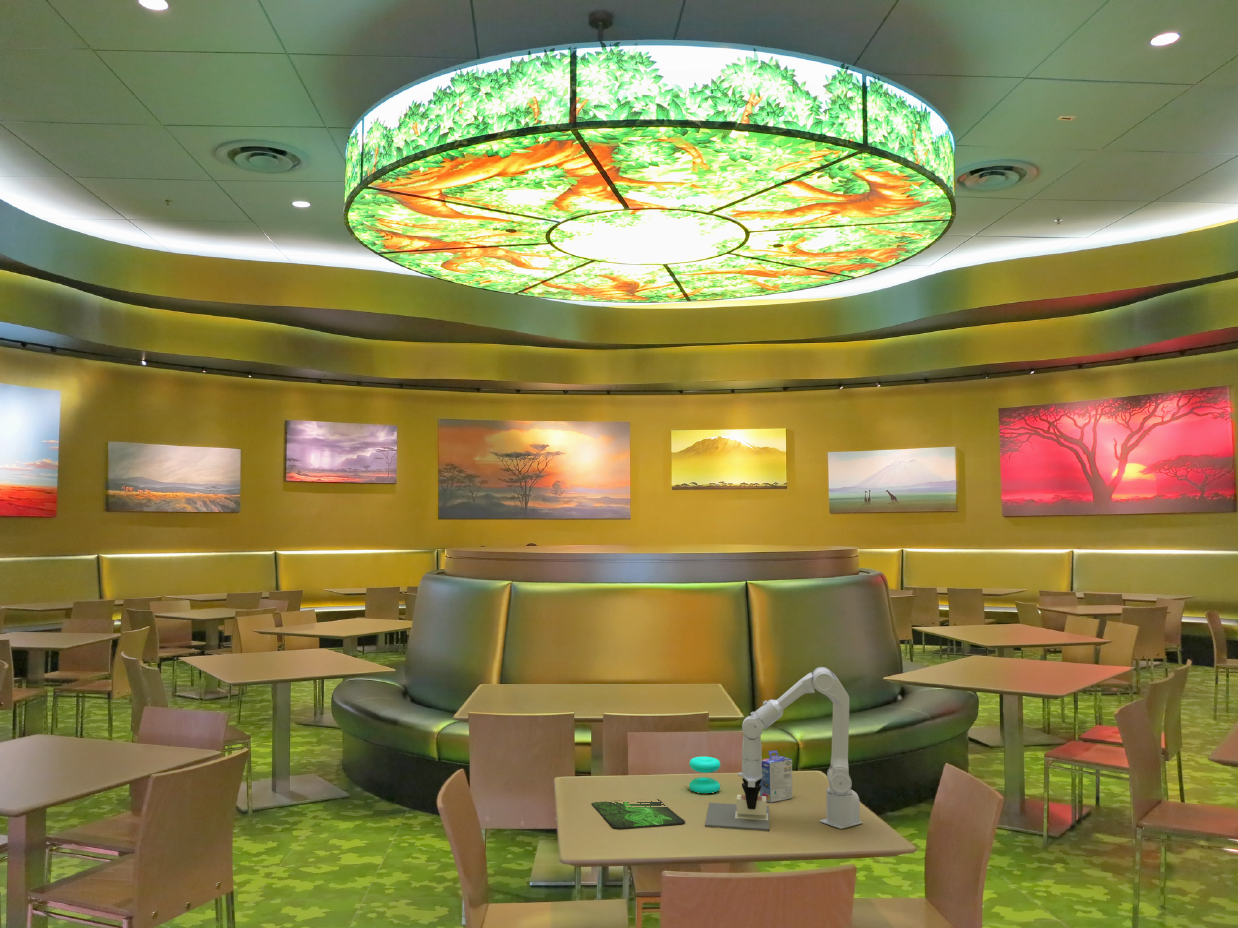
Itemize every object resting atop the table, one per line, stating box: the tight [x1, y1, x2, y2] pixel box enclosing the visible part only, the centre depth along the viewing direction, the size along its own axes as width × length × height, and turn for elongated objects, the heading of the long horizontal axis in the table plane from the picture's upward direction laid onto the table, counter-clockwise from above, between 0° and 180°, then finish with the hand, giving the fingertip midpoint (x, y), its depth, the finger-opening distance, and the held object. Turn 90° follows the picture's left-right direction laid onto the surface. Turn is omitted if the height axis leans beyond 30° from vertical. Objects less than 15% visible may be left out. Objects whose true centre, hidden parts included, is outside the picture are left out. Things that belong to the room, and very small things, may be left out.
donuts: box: [688, 756, 721, 794], centre depth 296 cm, size 10×10×10 cm
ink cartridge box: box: [759, 750, 793, 803], centre depth 288 cm, size 10×6×14 cm, turn 124°
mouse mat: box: [590, 798, 686, 830], centre depth 270 cm, size 27×22×1 cm
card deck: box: [736, 794, 767, 815], centre depth 267 cm, size 5×8×4 cm, turn 81°
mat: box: [704, 802, 770, 832], centre depth 268 cm, size 18×22×1 cm
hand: (751, 805), depth 267 cm, fingers closed on card deck, 5 cm apart
